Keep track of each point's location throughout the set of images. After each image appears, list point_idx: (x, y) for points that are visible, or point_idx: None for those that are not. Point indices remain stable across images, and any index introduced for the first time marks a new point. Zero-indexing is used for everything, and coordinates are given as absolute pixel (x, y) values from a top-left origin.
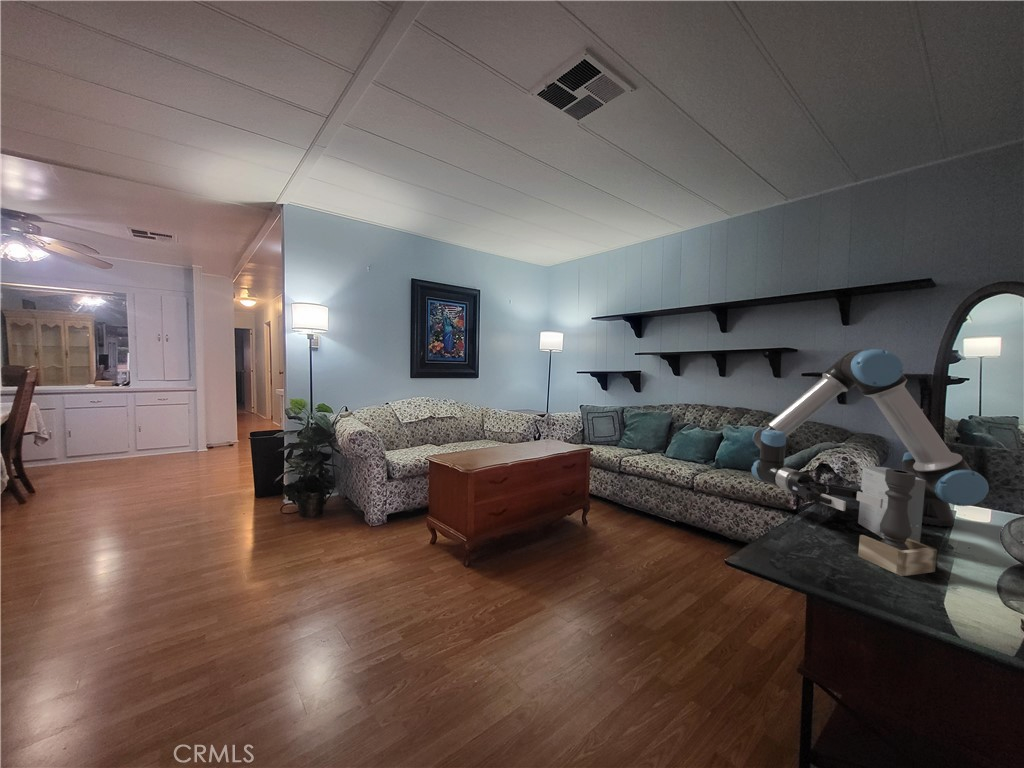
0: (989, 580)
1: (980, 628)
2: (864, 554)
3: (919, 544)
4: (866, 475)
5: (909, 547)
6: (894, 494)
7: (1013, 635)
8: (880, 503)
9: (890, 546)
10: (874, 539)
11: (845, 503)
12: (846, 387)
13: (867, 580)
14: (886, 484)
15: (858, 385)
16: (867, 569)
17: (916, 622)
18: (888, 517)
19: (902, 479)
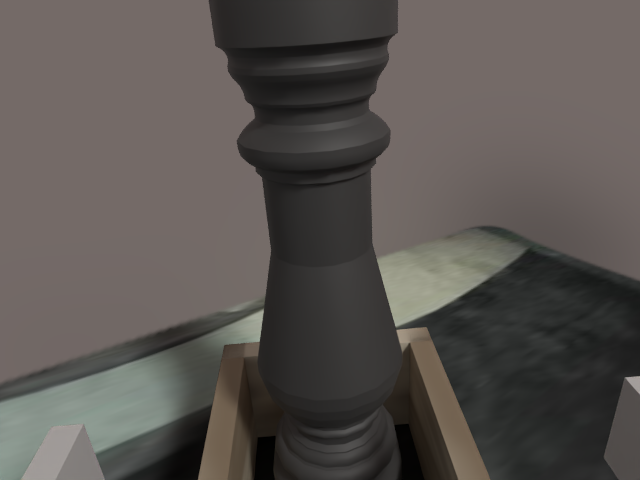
0: (122, 375)
1: (451, 260)
2: None
3: (241, 379)
4: None
5: (241, 439)
6: (378, 116)
7: (405, 250)
8: (97, 464)
9: (425, 370)
10: (441, 433)
11: (625, 393)
12: None
13: (598, 393)
14: (359, 73)
15: None
16: (536, 456)
17: (587, 271)
18: (384, 290)
19: None
